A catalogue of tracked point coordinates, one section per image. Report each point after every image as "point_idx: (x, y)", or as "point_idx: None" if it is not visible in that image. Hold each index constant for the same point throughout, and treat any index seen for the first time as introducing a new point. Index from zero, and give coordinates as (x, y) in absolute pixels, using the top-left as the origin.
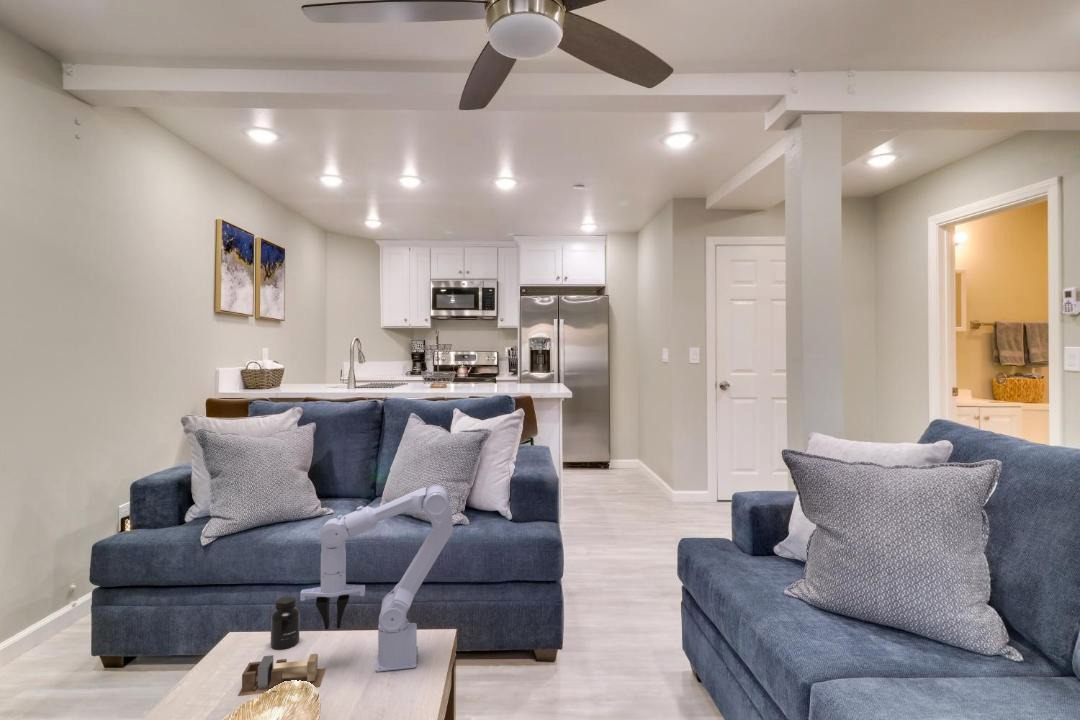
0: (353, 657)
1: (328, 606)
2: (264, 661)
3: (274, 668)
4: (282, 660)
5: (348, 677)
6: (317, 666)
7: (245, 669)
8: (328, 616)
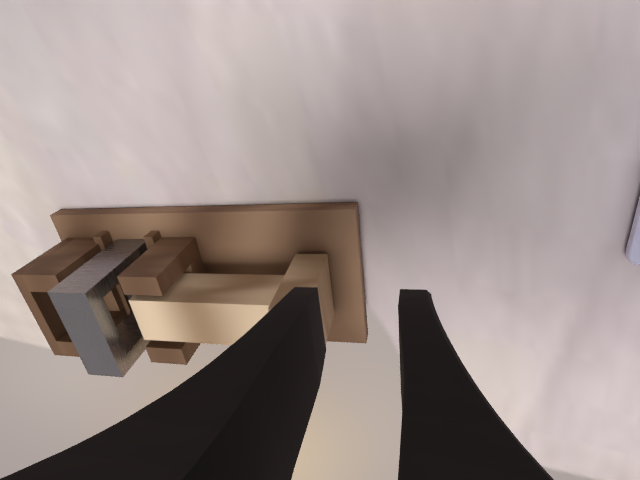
0: (492, 64)
1: (243, 475)
2: (82, 337)
3: (149, 339)
4: (145, 287)
5: (477, 269)
6: (321, 276)
7: (38, 322)
8: (289, 382)
